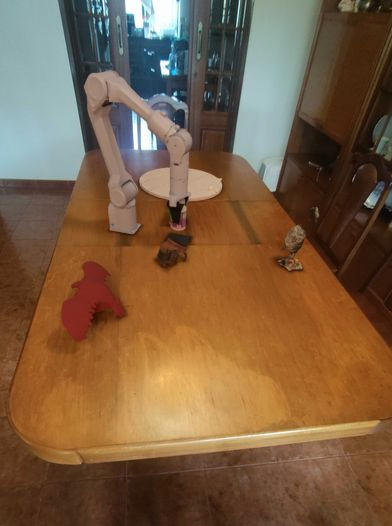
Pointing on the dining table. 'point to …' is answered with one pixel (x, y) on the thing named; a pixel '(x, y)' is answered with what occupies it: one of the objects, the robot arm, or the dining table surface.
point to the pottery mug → (170, 252)
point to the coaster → (179, 238)
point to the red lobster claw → (89, 301)
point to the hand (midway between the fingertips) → (178, 219)
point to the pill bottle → (182, 222)
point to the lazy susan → (198, 184)
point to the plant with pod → (296, 243)
